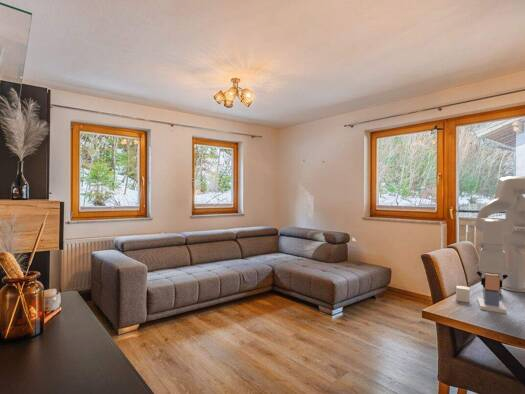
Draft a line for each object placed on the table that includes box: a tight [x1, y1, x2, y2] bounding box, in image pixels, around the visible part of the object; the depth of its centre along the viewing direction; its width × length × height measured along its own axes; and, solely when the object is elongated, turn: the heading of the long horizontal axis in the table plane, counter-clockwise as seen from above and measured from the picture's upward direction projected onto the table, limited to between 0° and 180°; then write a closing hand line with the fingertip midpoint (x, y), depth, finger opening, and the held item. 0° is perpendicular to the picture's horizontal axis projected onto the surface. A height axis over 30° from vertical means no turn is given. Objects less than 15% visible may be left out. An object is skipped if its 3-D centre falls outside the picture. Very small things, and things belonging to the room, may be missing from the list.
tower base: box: [476, 288, 507, 314], centre depth 138 cm, size 12×9×8 cm
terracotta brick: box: [485, 273, 500, 291], centre depth 138 cm, size 5×5×6 cm
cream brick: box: [455, 284, 470, 303], centre depth 147 cm, size 5×5×6 cm
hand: (491, 287), depth 138 cm, fingers closed on terracotta brick, 4 cm apart
